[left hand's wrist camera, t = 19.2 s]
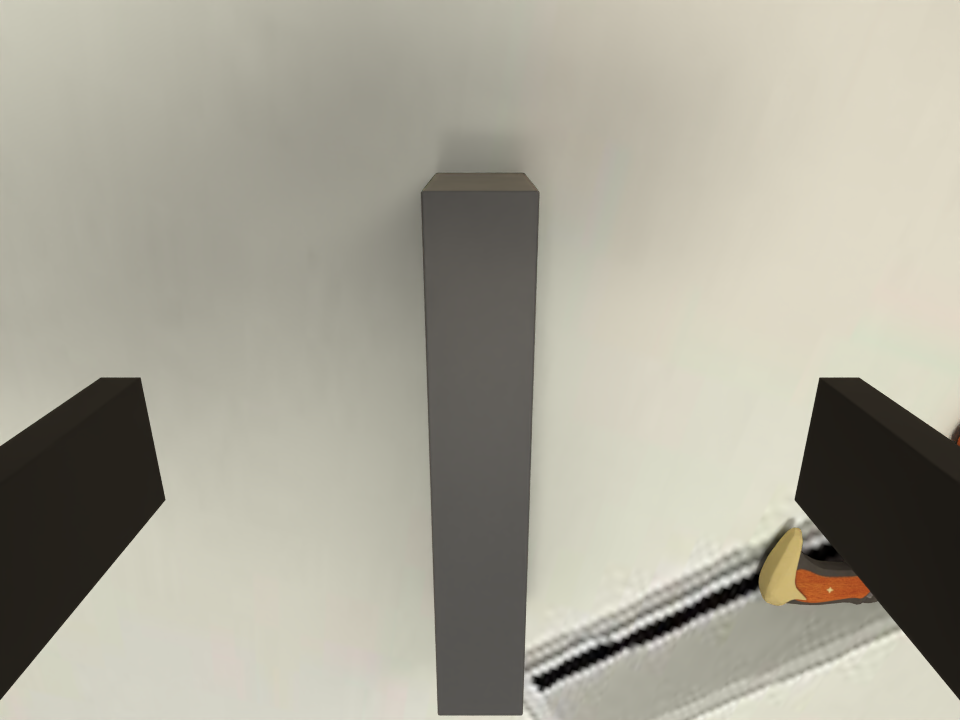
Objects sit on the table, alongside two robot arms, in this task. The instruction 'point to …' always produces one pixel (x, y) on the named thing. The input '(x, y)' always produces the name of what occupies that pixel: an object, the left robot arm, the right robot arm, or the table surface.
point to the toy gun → (808, 577)
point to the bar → (480, 430)
